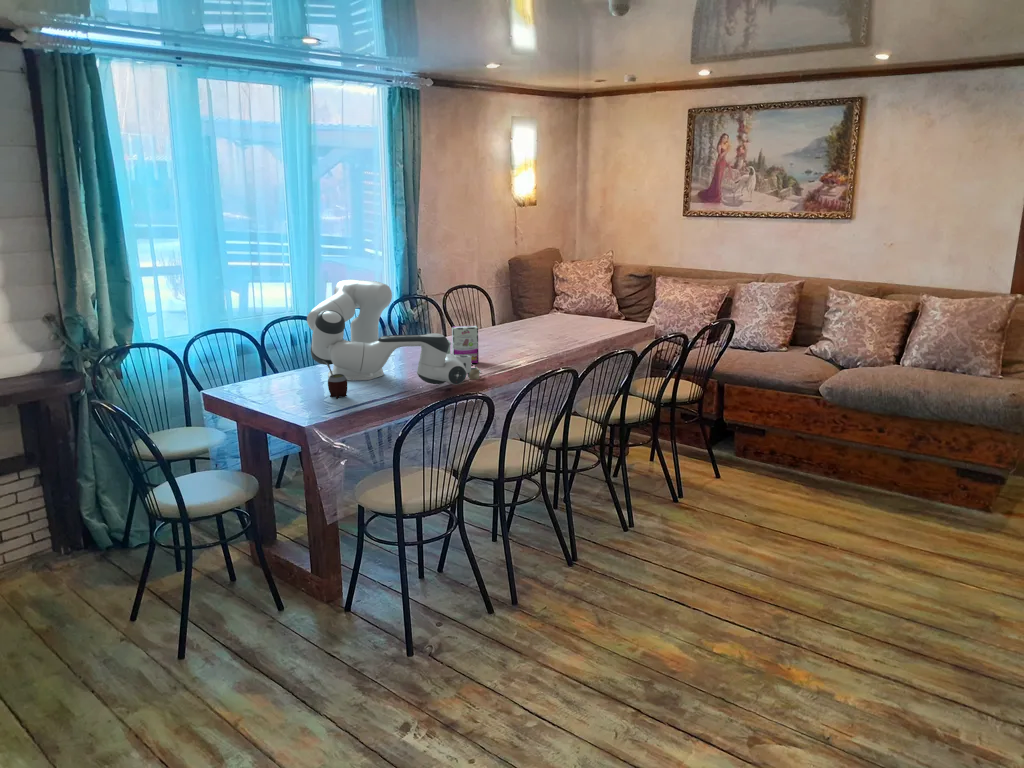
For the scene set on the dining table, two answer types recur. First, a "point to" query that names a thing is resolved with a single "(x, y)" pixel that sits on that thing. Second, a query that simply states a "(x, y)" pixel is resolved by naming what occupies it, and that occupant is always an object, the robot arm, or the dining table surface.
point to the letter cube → (474, 373)
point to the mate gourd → (337, 384)
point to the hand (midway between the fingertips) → (442, 357)
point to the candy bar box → (465, 342)
